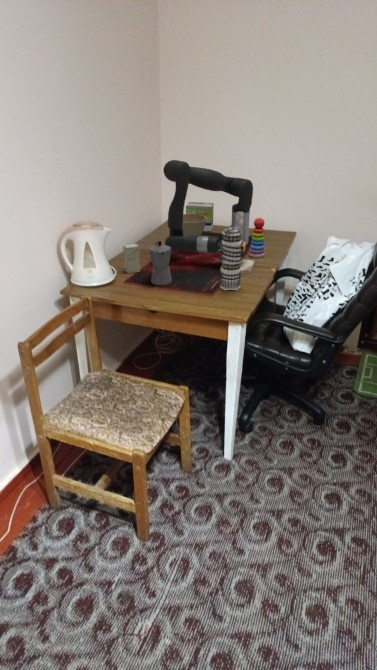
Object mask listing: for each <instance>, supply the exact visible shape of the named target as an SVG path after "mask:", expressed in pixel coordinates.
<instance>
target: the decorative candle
mask: <svg viewBox="0 0 377 670" xmlns="http://www.w3.org/2000/svg"><path fill="white" fill-rule="evenodd" d="M221 234H222V239H221V241H222V245H221V247H220V248H221V250H220V251H221V253H220V261H221V266H222V267H221V266H220V268H221V271H220V279H219V281H220V283H219V284H220V289H221V288H222V290H223V289H224V290H223V291H226V290H236V291H238V290H240V289H241V284H242V283H241V281H242V279H241V278H242V275H241V274H242V273H241V271H240V270H241V267H240V262H241V261H242V257H243V253H244V252H243V251H242V250H241V249H242V248H243V246H242V245H243V242H242V239H241V238H242V231H240V229H239V228H236V227H230V226H229V227H226V228H224V230H222V231H221ZM222 250H223V251H222ZM241 253H242V254H241ZM240 257H241V258H240ZM239 288H240V289H239ZM237 289H238V290H237Z"/></svg>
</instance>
